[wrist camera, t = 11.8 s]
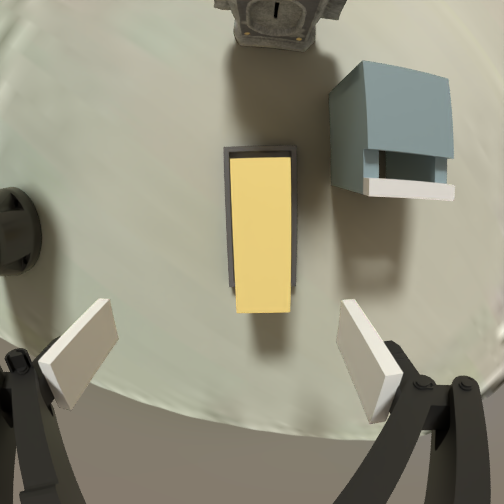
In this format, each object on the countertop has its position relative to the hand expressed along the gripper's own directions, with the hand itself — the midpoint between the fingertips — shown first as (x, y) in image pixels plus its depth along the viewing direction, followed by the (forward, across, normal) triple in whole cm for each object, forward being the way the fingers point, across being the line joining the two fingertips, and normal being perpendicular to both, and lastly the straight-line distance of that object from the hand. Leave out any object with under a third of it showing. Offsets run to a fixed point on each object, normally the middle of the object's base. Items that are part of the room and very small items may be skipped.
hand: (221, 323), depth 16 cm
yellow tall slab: (+23, +3, +2) cm, 23 cm away
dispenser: (+23, +16, +12) cm, 31 cm away
